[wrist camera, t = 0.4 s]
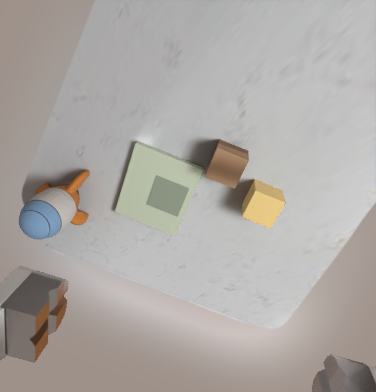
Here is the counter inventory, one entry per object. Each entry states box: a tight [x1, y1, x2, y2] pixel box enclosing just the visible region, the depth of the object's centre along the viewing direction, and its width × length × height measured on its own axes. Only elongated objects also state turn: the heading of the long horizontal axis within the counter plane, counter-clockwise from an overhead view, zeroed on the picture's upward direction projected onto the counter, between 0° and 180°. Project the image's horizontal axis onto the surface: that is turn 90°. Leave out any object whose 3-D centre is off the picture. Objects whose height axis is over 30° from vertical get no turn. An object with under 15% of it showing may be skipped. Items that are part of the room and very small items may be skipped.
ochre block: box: [242, 179, 286, 228], centre depth 53 cm, size 5×5×5 cm
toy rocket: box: [19, 170, 89, 239], centre depth 55 cm, size 10×11×15 cm
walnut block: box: [205, 139, 249, 189], centre depth 51 cm, size 5×5×5 cm
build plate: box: [115, 141, 204, 236], centre depth 57 cm, size 14×12×1 cm
